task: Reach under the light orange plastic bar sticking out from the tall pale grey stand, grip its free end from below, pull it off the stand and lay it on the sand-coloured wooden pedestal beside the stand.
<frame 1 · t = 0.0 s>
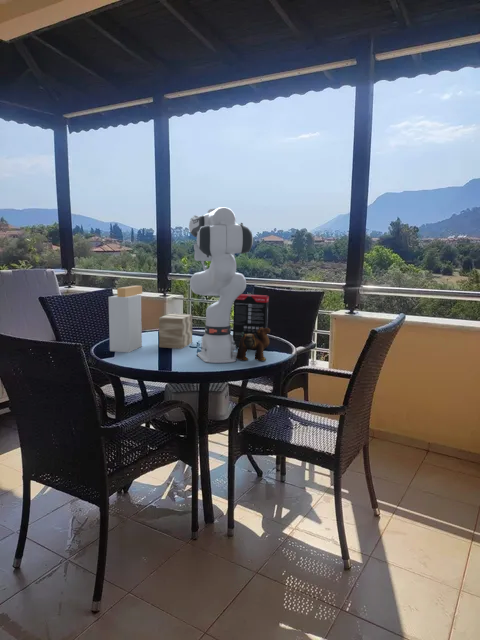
hand: (214, 269, 223), 39 cm above the table, tool pointing down, fingers open, 8 cm apart
figurine: (252, 360, 198), on the table
bar: (130, 295, 217), point 26 cm above the table, touching stand
stand: (126, 348, 215), on the table
pedestal: (176, 344, 227), on the table
graphics card box: (250, 348, 223), on the table
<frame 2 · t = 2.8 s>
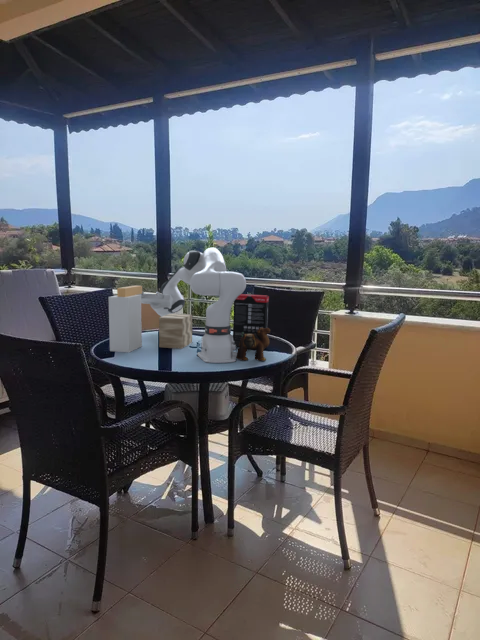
hand: (149, 293, 239), 25 cm above the table, tool pointing upward, fingers open, 8 cm apart
nothing on the table moved.
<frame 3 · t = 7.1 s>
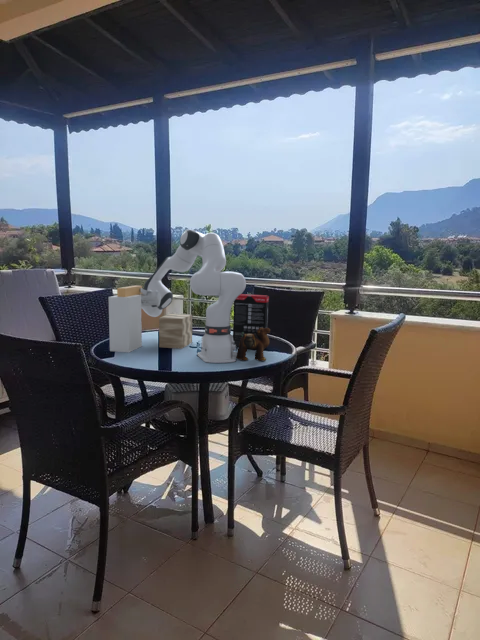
hand: (135, 289, 222), 28 cm above the table, tool pointing upward, fingers closed on bar, 4 cm apart
bar: (130, 294, 217), point 26 cm above the table, touching gripper, stand
everything else where it was.
when the fingers open (19 cm above the table, at t = 19.2 s): bar drops 2 cm, resting on pedestal.
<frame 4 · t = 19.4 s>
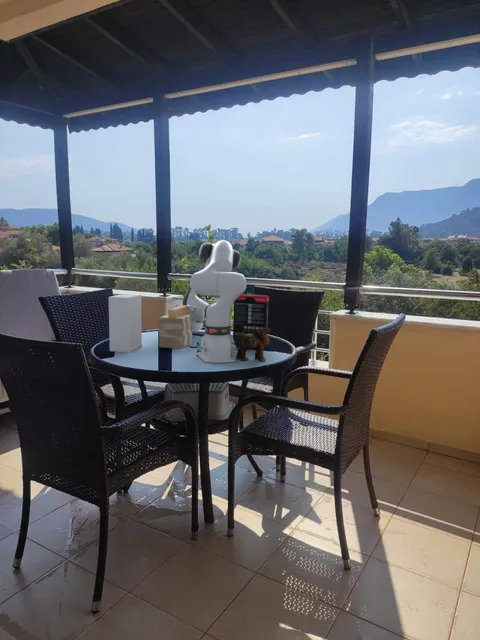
hand: (182, 306, 233), 19 cm above the table, tool pointing upward, fingers open, 6 cm apart
bar: (178, 315, 228), point 15 cm above the table, touching pedestal
everything else where it was.
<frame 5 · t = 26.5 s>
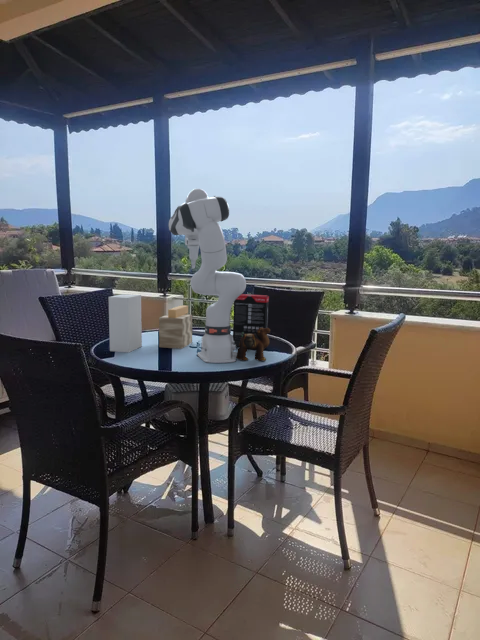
hand: (193, 267, 238), 39 cm above the table, tool pointing down, fingers open, 8 cm apart
nothing on the table moved.
at the end: bar inside the target area on the pedestal (0.4 cm from its centre), point 15.0 cm above the pedestal's base; bar touching pedestal; the gripper is holding nothing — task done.
